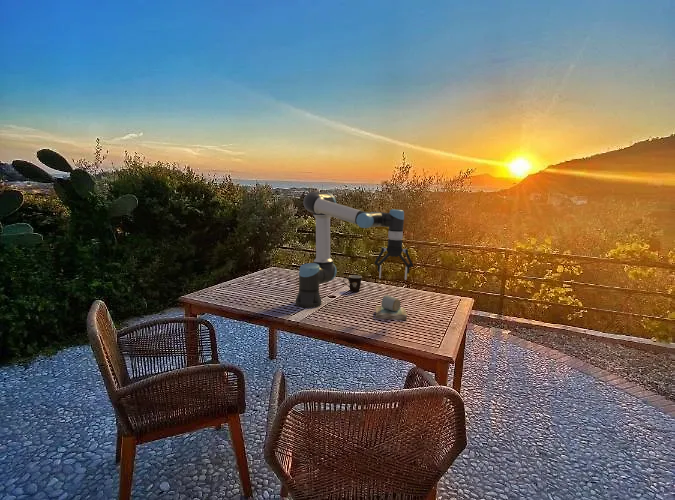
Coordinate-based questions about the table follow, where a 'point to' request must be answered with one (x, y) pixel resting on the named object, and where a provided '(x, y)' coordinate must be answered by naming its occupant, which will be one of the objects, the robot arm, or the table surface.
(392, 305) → the ceramic mug
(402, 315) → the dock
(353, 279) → the coffee mug
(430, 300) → the table surface
